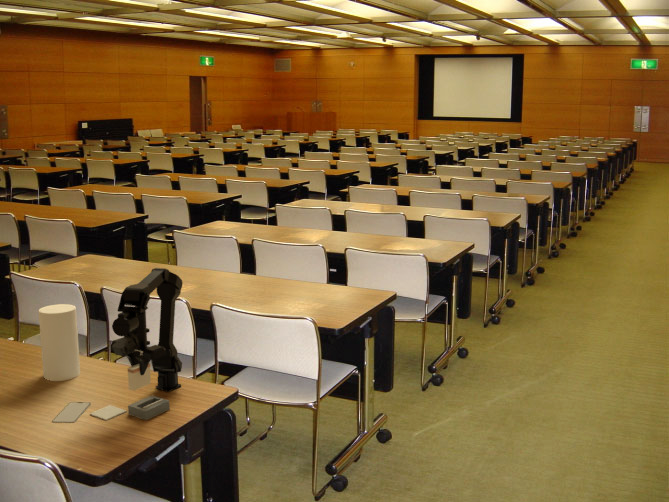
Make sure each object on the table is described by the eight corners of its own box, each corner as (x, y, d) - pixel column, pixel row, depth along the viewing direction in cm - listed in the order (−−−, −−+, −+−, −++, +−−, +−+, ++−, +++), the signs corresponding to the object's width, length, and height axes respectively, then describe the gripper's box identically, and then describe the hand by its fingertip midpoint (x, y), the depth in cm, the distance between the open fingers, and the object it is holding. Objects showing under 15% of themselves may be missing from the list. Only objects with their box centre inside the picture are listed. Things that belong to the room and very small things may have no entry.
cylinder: (78, 379, 252) (73, 312, 247) (40, 382, 249) (35, 314, 244) (82, 367, 263) (77, 303, 259) (46, 370, 261) (41, 305, 256)
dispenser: (152, 403, 231) (151, 394, 230) (169, 409, 227) (169, 399, 226) (128, 414, 223) (127, 404, 222) (146, 420, 219) (145, 410, 218)
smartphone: (50, 421, 217) (69, 402, 231) (50, 423, 217) (69, 403, 231) (74, 422, 216) (91, 402, 231) (74, 424, 217) (92, 404, 231)
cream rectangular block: (145, 382, 226) (144, 361, 225) (150, 383, 225) (150, 362, 224) (128, 389, 220) (127, 367, 219) (134, 390, 219) (133, 369, 218)
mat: (109, 406, 229) (109, 404, 229) (126, 411, 225) (126, 410, 225) (89, 414, 222) (89, 413, 222) (106, 420, 218) (106, 419, 218)
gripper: (95, 328, 217) (98, 376, 220) (138, 338, 207) (140, 388, 210) (123, 319, 226) (126, 365, 229) (165, 329, 217) (167, 376, 220)
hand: (139, 374), depth 222 cm, fingers closed on cream rectangular block, 2 cm apart
